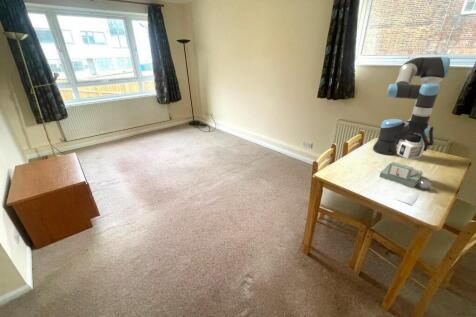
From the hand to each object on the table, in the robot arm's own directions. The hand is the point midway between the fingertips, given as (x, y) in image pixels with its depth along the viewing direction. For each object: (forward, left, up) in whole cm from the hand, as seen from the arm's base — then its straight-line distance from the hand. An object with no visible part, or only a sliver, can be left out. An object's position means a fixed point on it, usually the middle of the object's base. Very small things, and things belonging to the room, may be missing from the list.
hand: (408, 152), depth 127 cm
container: (0, 0, -2) cm, 2 cm away
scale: (+2, 0, -15) cm, 15 cm away
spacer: (+7, +12, -15) cm, 20 cm away
